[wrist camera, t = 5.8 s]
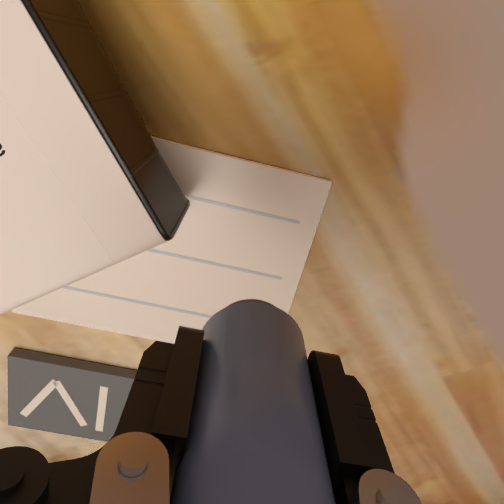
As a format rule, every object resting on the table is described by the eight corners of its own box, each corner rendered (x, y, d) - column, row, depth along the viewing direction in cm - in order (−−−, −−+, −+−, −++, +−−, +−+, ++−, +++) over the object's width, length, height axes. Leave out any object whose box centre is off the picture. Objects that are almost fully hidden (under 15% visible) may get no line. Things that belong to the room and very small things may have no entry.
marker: (314, 297, 13) (437, 740, 4) (287, 378, 14) (341, 827, 6) (209, 277, 12) (129, 713, 4) (192, 361, 14) (106, 813, 5)
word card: (141, 371, 26) (137, 381, 26) (130, 435, 29) (126, 446, 28) (14, 347, 26) (6, 356, 25) (14, 415, 28) (7, 426, 27)
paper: (331, 180, 21) (332, 182, 21) (271, 358, 26) (271, 363, 26) (14, 102, 19) (8, 103, 19) (14, 308, 24) (10, 312, 24)
